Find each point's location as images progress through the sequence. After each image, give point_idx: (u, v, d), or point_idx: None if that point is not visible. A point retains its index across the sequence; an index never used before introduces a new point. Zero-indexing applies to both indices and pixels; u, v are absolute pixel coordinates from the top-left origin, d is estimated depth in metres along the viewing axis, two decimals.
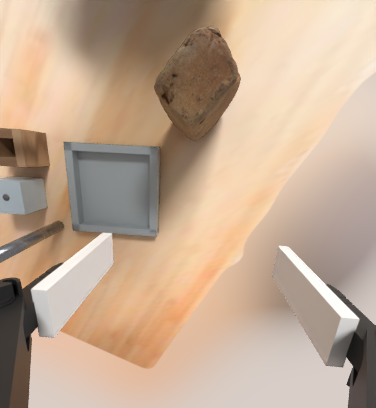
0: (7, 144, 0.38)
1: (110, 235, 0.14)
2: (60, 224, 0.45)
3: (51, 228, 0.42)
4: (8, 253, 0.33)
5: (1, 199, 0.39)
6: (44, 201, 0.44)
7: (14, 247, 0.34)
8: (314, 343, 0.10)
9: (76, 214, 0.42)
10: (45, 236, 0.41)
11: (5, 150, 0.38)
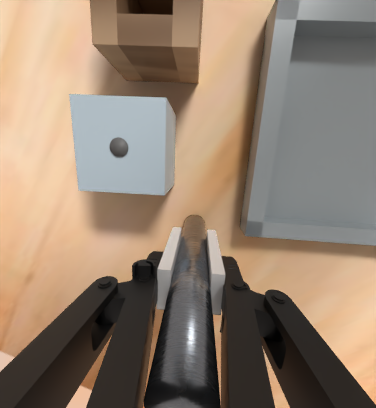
0: None
1: None
2: (203, 222, 0.20)
3: (204, 232, 0.18)
4: (214, 339, 0.08)
5: (104, 153, 0.14)
6: (173, 171, 0.20)
7: (210, 306, 0.09)
8: None
9: (263, 198, 0.18)
10: None
11: (125, 8, 0.13)
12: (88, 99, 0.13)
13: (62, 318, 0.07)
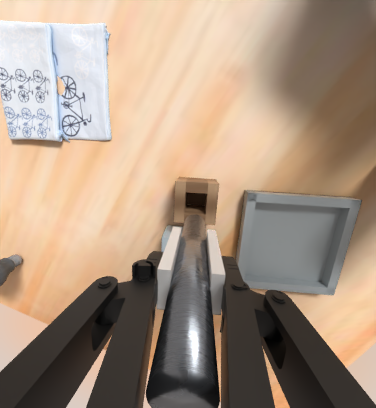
0: None
1: None
2: (203, 222, 0.20)
3: (204, 231, 0.18)
4: None
5: None
6: None
7: (210, 302, 0.09)
8: None
9: (243, 270, 0.37)
10: None
11: (185, 203, 0.32)
12: None
13: (62, 318, 0.07)
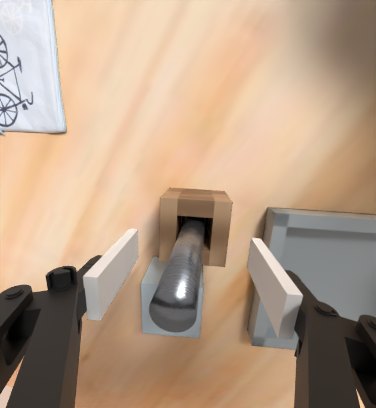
0: (178, 219, 0.21)
1: (137, 231, 0.15)
2: None
3: (203, 220, 0.21)
4: (199, 284, 0.11)
5: None
6: None
7: (199, 265, 0.12)
8: (272, 320, 0.11)
9: (265, 323, 0.25)
10: None
11: (177, 231, 0.21)
12: (153, 286, 0.21)
13: None
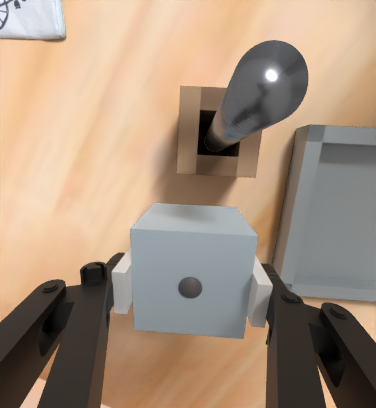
0: None
1: None
2: None
3: None
4: None
5: (170, 292, 0.11)
6: None
7: None
8: (248, 311, 0.11)
9: (293, 266, 0.22)
10: None
11: None
12: (154, 235, 0.10)
13: (0, 329, 0.07)
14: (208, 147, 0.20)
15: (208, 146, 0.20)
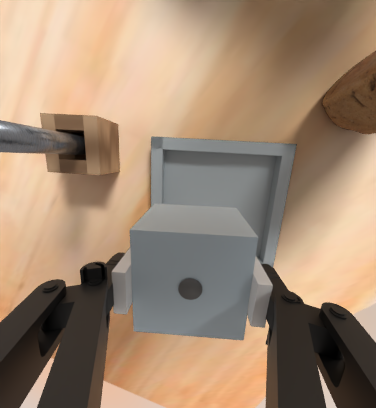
0: None
1: None
2: None
3: None
4: (25, 136, 0.15)
5: (170, 294, 0.11)
6: None
7: (37, 133, 0.17)
8: (248, 311, 0.11)
9: None
10: (83, 147, 0.23)
11: None
12: (154, 236, 0.10)
13: (0, 329, 0.07)
14: None
15: None
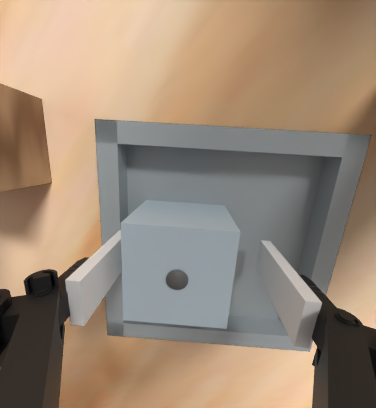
0: None
1: None
2: None
3: None
4: None
5: (158, 284, 0.12)
6: None
7: None
8: (286, 327, 0.10)
9: (118, 302, 0.17)
10: None
11: None
12: (144, 229, 0.11)
13: None
14: None
15: None
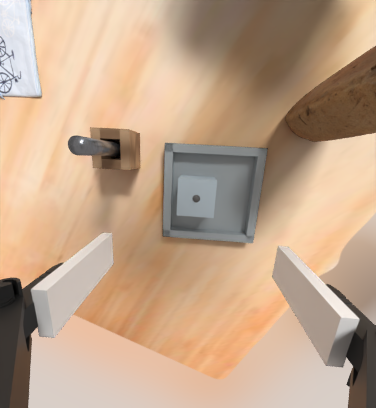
0: None
1: (110, 235, 0.14)
2: None
3: None
4: (95, 145, 0.26)
5: (189, 200, 0.34)
6: None
7: (99, 143, 0.27)
8: (314, 343, 0.10)
9: (168, 219, 0.40)
10: (119, 150, 0.34)
11: None
12: (185, 180, 0.34)
13: None
14: None
15: None
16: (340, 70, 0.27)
